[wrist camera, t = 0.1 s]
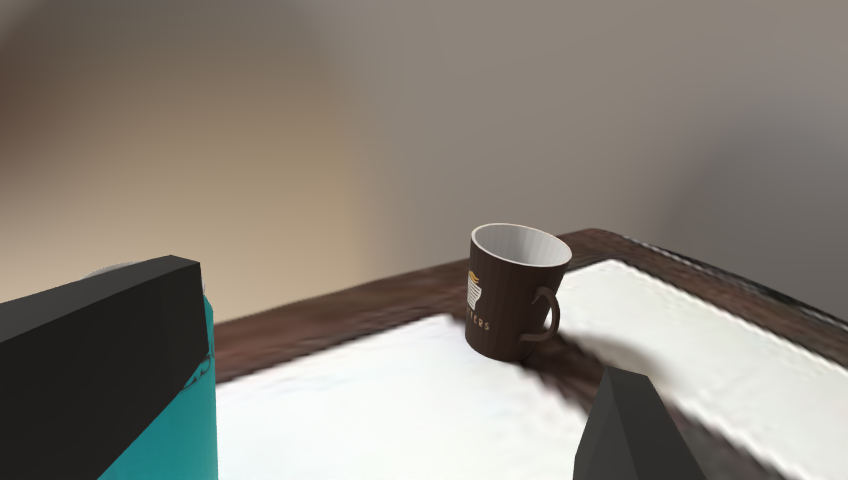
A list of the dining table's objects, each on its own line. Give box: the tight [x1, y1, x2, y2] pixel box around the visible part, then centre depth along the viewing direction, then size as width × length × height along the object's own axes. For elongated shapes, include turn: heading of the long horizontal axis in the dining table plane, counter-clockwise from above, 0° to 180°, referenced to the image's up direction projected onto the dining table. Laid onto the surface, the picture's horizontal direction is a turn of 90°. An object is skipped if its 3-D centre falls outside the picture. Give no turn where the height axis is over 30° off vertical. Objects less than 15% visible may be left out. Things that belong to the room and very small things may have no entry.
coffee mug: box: [465, 223, 572, 361], centre depth 46 cm, size 12×9×10 cm
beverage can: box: [79, 261, 218, 480], centre depth 25 cm, size 6×6×15 cm
